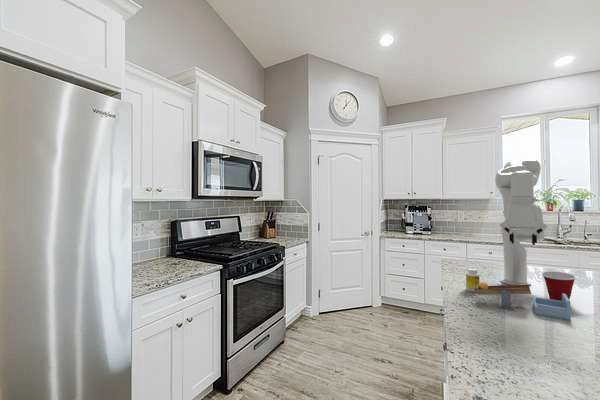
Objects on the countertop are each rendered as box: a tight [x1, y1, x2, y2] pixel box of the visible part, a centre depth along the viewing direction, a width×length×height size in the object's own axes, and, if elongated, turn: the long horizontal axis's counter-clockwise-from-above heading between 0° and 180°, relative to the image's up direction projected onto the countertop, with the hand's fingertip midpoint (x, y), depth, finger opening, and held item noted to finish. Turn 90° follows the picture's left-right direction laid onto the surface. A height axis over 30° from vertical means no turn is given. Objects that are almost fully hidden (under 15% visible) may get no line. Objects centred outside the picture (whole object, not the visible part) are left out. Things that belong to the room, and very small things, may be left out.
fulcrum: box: [498, 290, 515, 311], centre depth 114 cm, size 10×5×7 cm, turn 143°
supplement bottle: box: [465, 268, 481, 293], centre depth 134 cm, size 6×6×10 cm
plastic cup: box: [541, 270, 577, 301], centre depth 117 cm, size 11×11×12 cm
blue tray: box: [531, 293, 572, 322], centre depth 106 cm, size 10×10×7 cm
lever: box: [476, 284, 532, 296], centre depth 117 cm, size 13×18×3 cm
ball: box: [479, 281, 489, 289], centre depth 119 cm, size 4×4×4 cm
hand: (522, 243), depth 115 cm, fingers open, 6 cm apart
